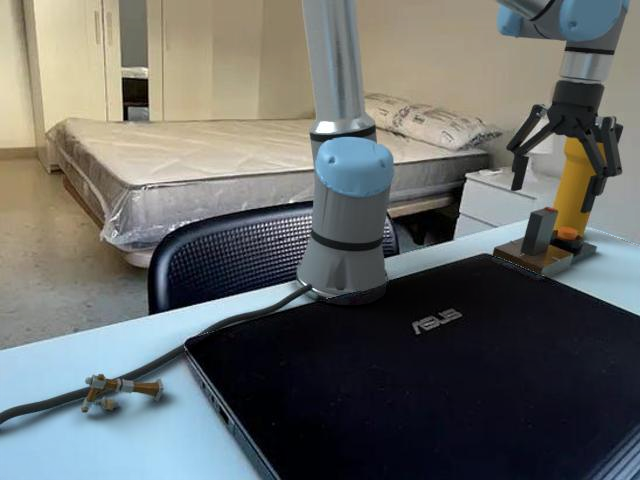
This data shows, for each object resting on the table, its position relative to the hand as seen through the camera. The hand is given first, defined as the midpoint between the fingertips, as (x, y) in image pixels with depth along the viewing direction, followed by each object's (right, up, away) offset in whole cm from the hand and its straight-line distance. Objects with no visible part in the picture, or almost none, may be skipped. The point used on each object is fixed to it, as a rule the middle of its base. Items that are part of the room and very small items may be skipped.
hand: (549, 200), depth 92 cm
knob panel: (-1, -12, +5) cm, 13 cm away
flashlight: (+14, -6, +23) cm, 28 cm away
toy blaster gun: (-63, -25, -38) cm, 78 cm away
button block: (+9, -10, +13) cm, 18 cm away
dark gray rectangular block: (-1, -9, +4) cm, 10 cm away
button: (+9, -7, +12) cm, 16 cm away
